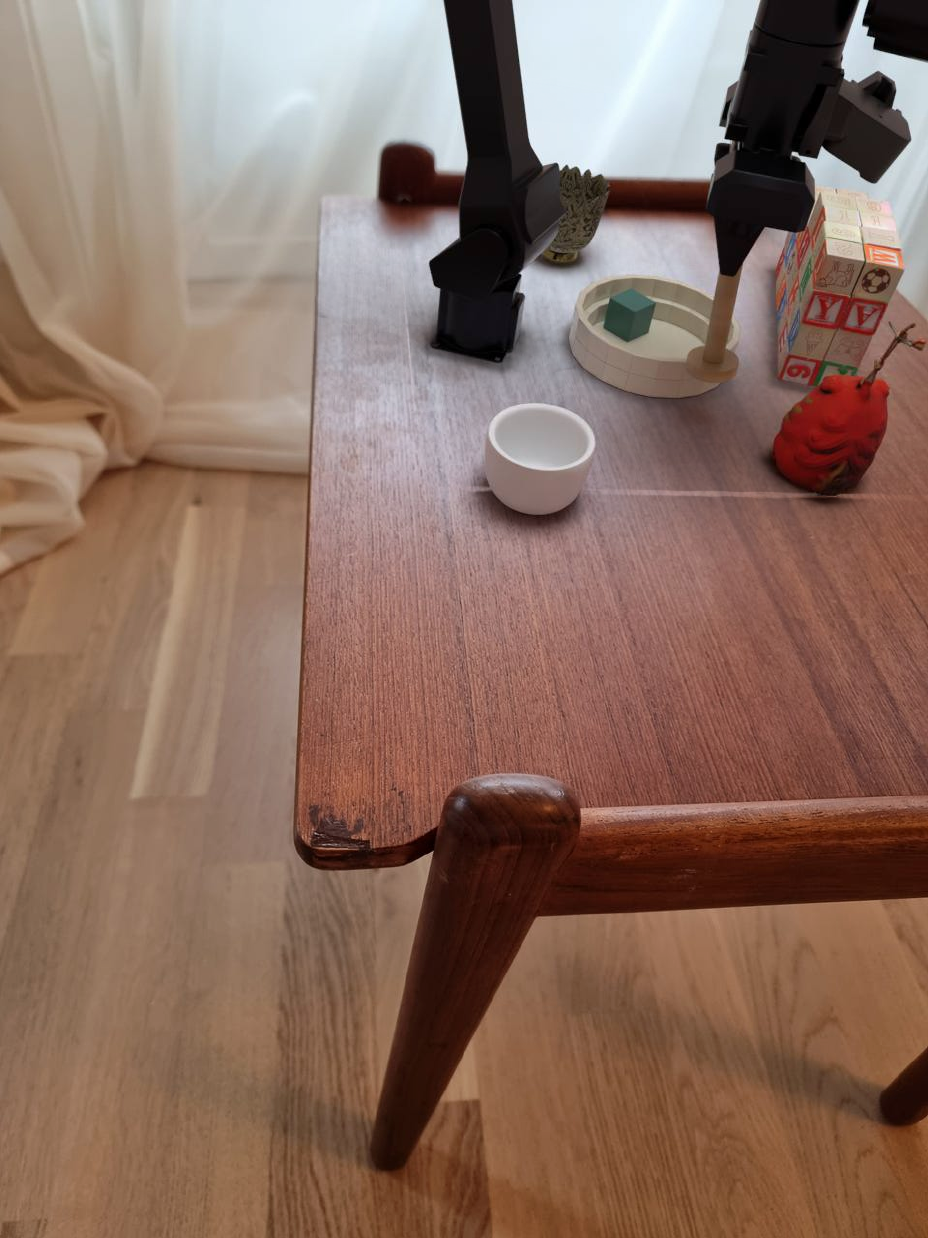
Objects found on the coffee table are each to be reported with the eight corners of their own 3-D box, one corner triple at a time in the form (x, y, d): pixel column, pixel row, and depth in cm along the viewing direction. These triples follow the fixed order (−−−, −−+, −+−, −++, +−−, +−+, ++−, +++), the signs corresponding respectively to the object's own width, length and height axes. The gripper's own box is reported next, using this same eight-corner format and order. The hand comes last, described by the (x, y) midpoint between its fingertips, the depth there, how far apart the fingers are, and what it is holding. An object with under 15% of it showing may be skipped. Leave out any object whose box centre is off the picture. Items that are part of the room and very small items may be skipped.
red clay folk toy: (840, 447, 81) (919, 277, 70) (876, 503, 76) (967, 330, 65) (753, 448, 79) (820, 275, 68) (784, 505, 75) (862, 329, 64)
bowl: (554, 380, 83) (562, 338, 81) (583, 301, 93) (591, 261, 90) (719, 418, 82) (734, 377, 79) (732, 334, 92) (745, 294, 89)
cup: (524, 237, 101) (536, 158, 95) (595, 248, 101) (611, 169, 95) (517, 272, 96) (529, 190, 90) (592, 284, 95) (608, 202, 90)
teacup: (562, 543, 69) (575, 483, 65) (462, 508, 71) (470, 448, 67) (604, 466, 76) (618, 407, 72) (512, 435, 77) (521, 376, 74)
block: (627, 342, 88) (635, 312, 86) (602, 327, 89) (609, 297, 87) (648, 332, 89) (656, 302, 87) (624, 317, 91) (631, 287, 88)
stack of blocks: (772, 271, 101) (815, 148, 92) (833, 283, 100) (882, 160, 91) (775, 384, 86) (827, 251, 77) (847, 398, 86) (907, 266, 77)
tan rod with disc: (680, 377, 77) (706, 226, 68) (691, 352, 80) (717, 203, 71) (731, 387, 76) (764, 235, 67) (740, 361, 79) (773, 212, 70)
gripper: (948, 105, 53) (842, 357, 65) (919, 11, 66) (835, 235, 77) (744, 69, 54) (675, 322, 66) (754, -17, 67) (695, 208, 78)
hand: (727, 268), depth 72 cm, fingers closed on tan rod with disc, 2 cm apart
